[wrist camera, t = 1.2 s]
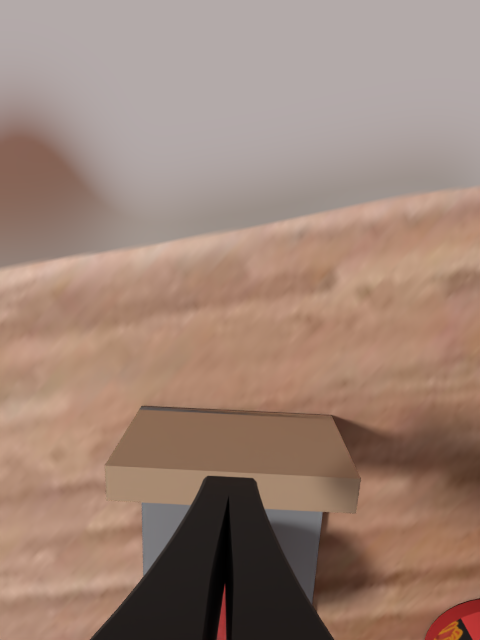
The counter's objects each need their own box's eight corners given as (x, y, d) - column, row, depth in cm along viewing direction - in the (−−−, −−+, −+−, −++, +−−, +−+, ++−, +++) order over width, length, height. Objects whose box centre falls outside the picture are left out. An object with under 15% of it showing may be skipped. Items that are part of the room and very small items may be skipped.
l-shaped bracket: (308, 622, 22) (325, 732, 17) (146, 613, 22) (117, 720, 17) (331, 415, 19) (360, 478, 14) (141, 406, 19) (104, 465, 14)
